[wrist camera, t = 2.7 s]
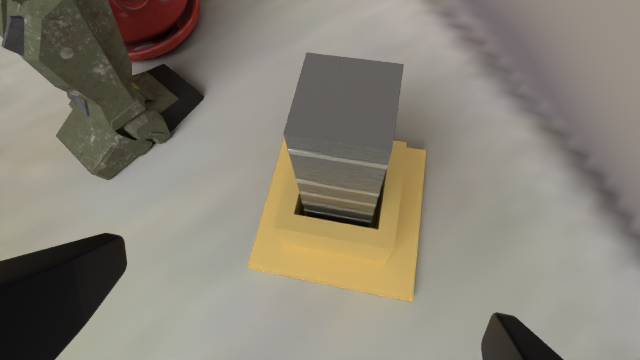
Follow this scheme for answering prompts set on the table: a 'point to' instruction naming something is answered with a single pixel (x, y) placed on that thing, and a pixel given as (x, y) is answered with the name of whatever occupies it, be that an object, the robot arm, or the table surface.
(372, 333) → the table surface
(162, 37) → the plant pot
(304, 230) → the stand base
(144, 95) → the mechanical leg
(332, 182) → the column
